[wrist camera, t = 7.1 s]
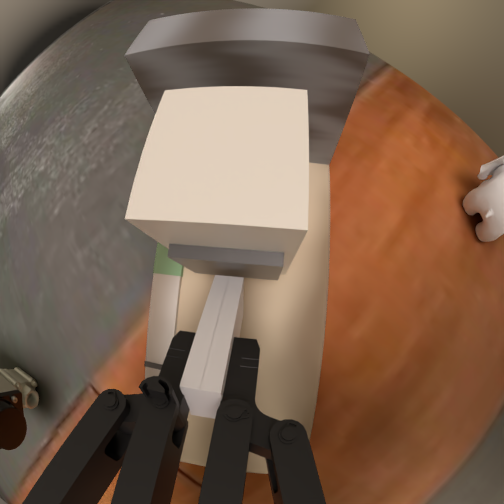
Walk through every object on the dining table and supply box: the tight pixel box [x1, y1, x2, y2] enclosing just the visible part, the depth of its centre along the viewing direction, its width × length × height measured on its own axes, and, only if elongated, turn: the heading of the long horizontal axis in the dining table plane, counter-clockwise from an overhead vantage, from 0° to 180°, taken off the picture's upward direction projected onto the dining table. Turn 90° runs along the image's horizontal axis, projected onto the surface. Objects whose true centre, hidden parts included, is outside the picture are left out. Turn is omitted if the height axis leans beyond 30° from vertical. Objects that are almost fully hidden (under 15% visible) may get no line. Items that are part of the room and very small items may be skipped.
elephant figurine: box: [463, 156, 504, 242], centre depth 16 cm, size 8×10×7 cm
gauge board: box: [124, 9, 370, 474], centre depth 13 cm, size 12×28×12 cm, turn 175°
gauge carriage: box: [125, 86, 309, 280], centre depth 14 cm, size 9×8×10 cm
